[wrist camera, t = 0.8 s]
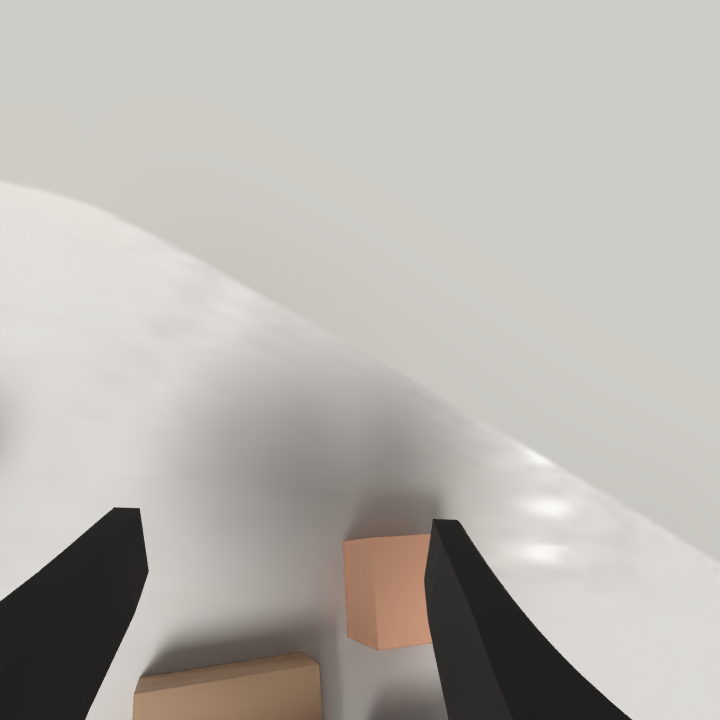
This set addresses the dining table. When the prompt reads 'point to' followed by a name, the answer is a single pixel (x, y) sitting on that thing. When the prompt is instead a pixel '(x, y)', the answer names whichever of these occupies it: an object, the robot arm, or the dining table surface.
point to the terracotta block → (387, 590)
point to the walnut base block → (234, 691)
